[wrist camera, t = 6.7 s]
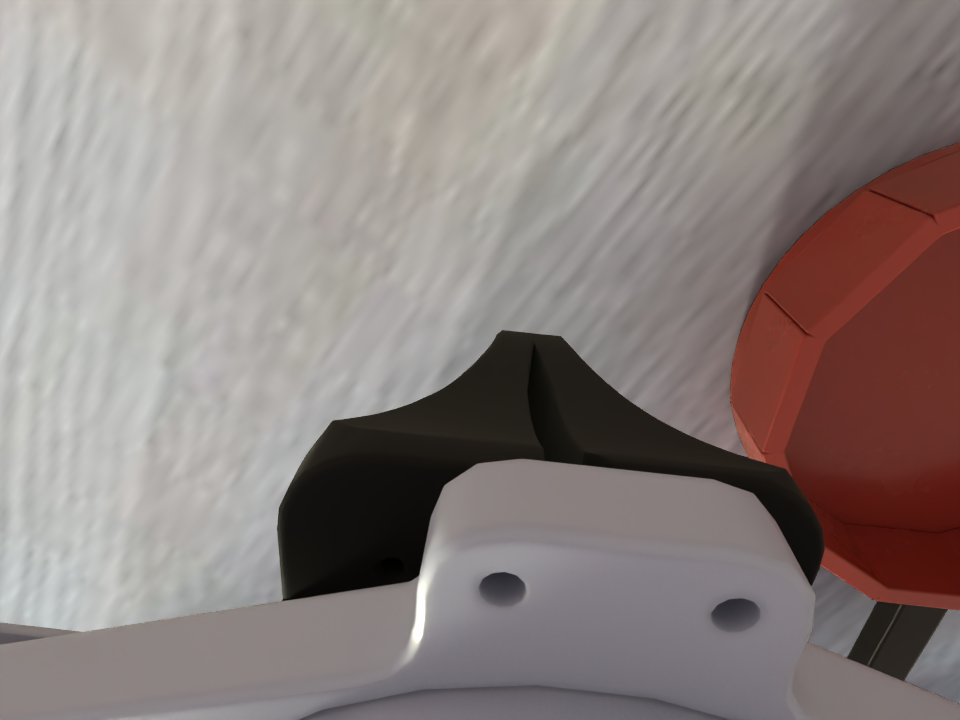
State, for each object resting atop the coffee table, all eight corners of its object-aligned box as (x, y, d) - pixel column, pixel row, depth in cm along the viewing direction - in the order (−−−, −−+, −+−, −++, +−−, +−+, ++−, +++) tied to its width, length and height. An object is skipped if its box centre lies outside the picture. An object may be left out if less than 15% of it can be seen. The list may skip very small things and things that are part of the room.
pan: (808, 104, 13) (881, 118, 10) (1328, 156, 13) (1538, 183, 10) (644, 641, 21) (662, 729, 18) (971, 677, 21) (1037, 771, 18)
